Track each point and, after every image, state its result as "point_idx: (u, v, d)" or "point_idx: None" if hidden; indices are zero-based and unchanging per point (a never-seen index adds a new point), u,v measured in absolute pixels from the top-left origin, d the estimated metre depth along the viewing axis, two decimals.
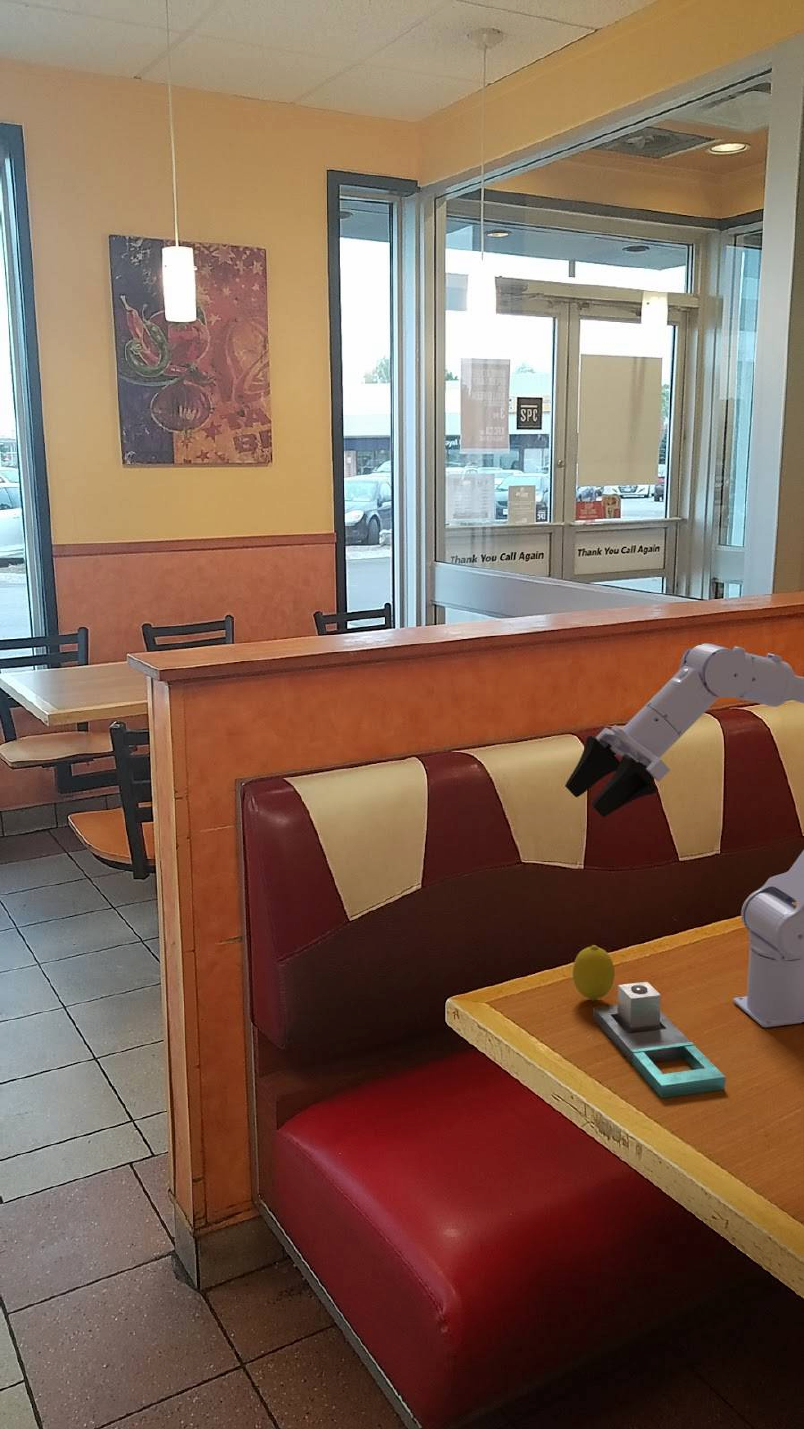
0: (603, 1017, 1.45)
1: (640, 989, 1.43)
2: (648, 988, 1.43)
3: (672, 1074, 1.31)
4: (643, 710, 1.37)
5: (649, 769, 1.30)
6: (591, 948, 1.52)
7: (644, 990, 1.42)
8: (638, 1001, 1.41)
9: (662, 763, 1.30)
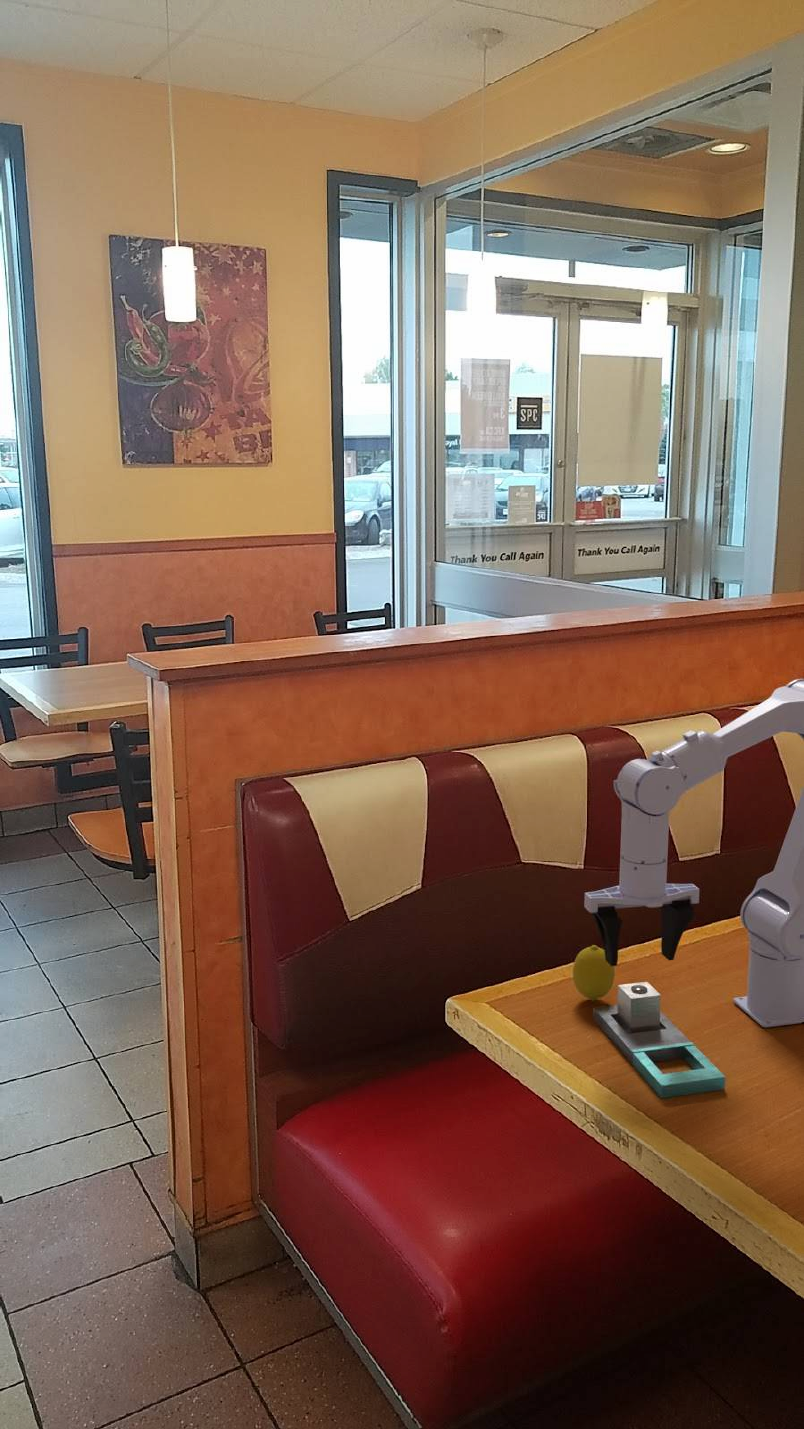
0: (603, 1017, 1.45)
1: (640, 989, 1.43)
2: (648, 988, 1.43)
3: (672, 1074, 1.31)
4: (651, 870, 1.37)
5: (697, 902, 1.41)
6: (591, 948, 1.52)
7: (644, 990, 1.42)
8: (638, 1001, 1.41)
9: None
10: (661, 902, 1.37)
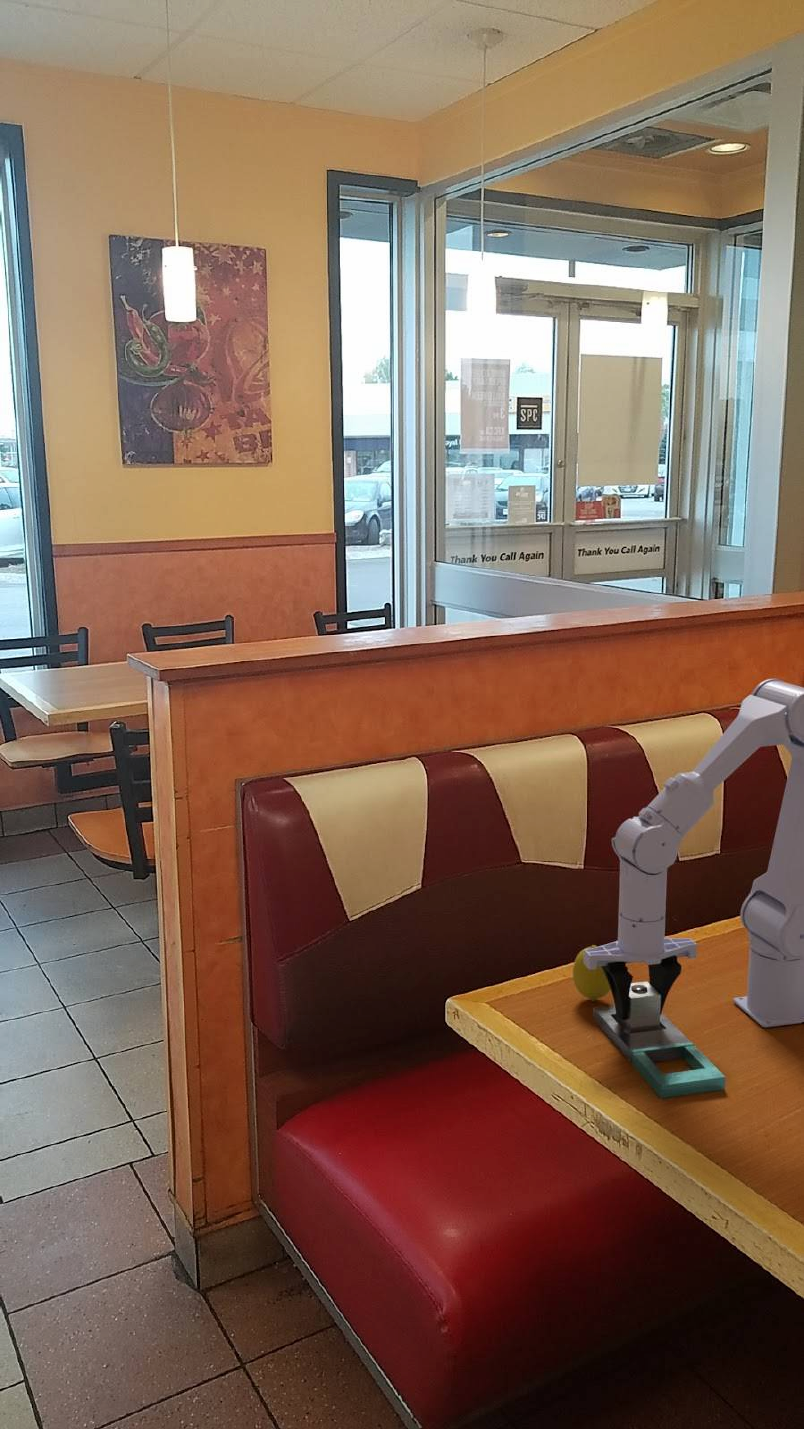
0: (603, 1017, 1.45)
1: (640, 989, 1.43)
2: (648, 988, 1.43)
3: (672, 1074, 1.31)
4: (649, 927, 1.38)
5: (695, 957, 1.43)
6: None
7: (644, 990, 1.42)
8: (638, 1001, 1.41)
9: None
10: (659, 959, 1.38)
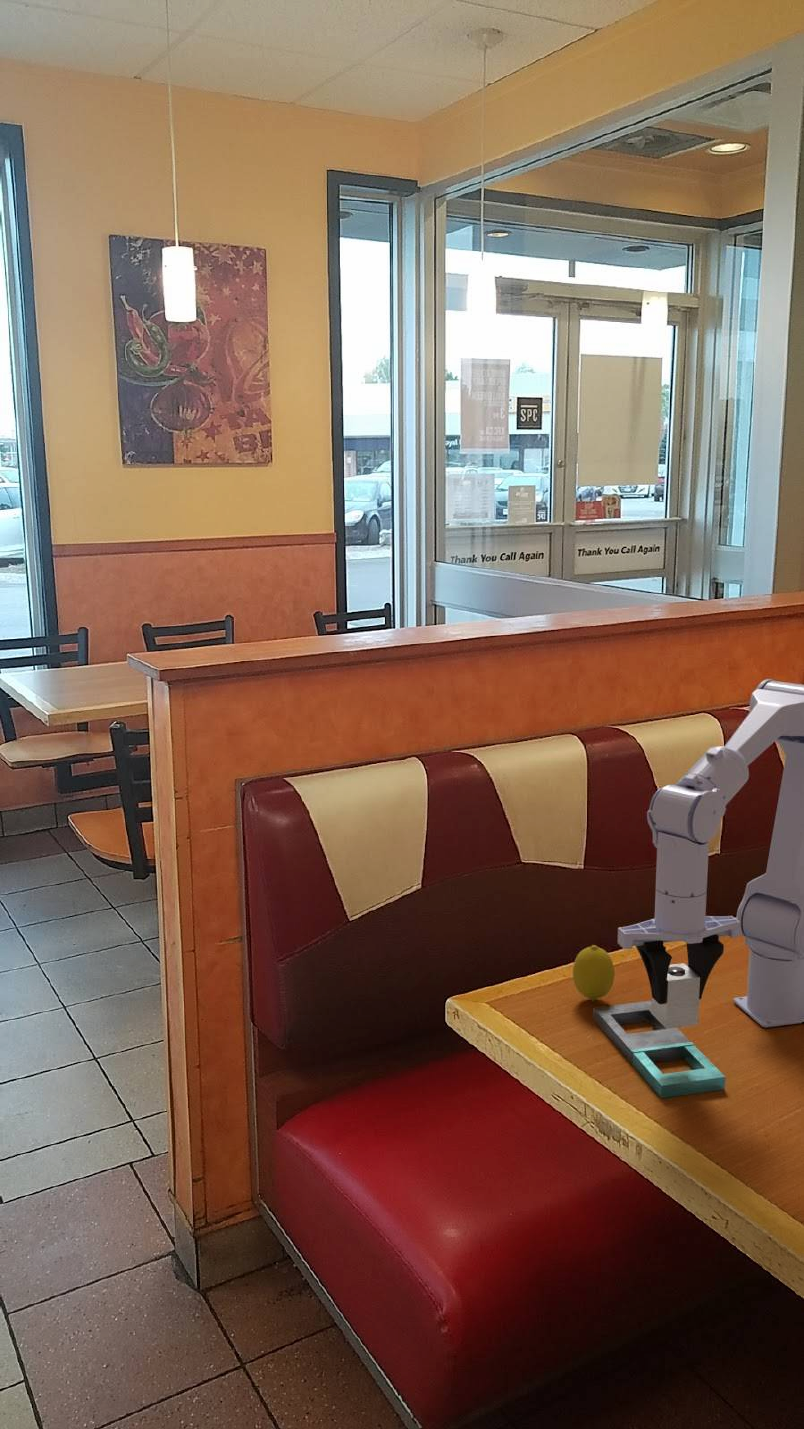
0: (603, 1017, 1.45)
1: (677, 971, 1.32)
2: (686, 970, 1.33)
3: (672, 1074, 1.31)
4: (690, 903, 1.27)
5: (738, 936, 1.32)
6: (591, 948, 1.52)
7: (682, 972, 1.32)
8: (676, 983, 1.30)
9: None
10: (701, 938, 1.27)
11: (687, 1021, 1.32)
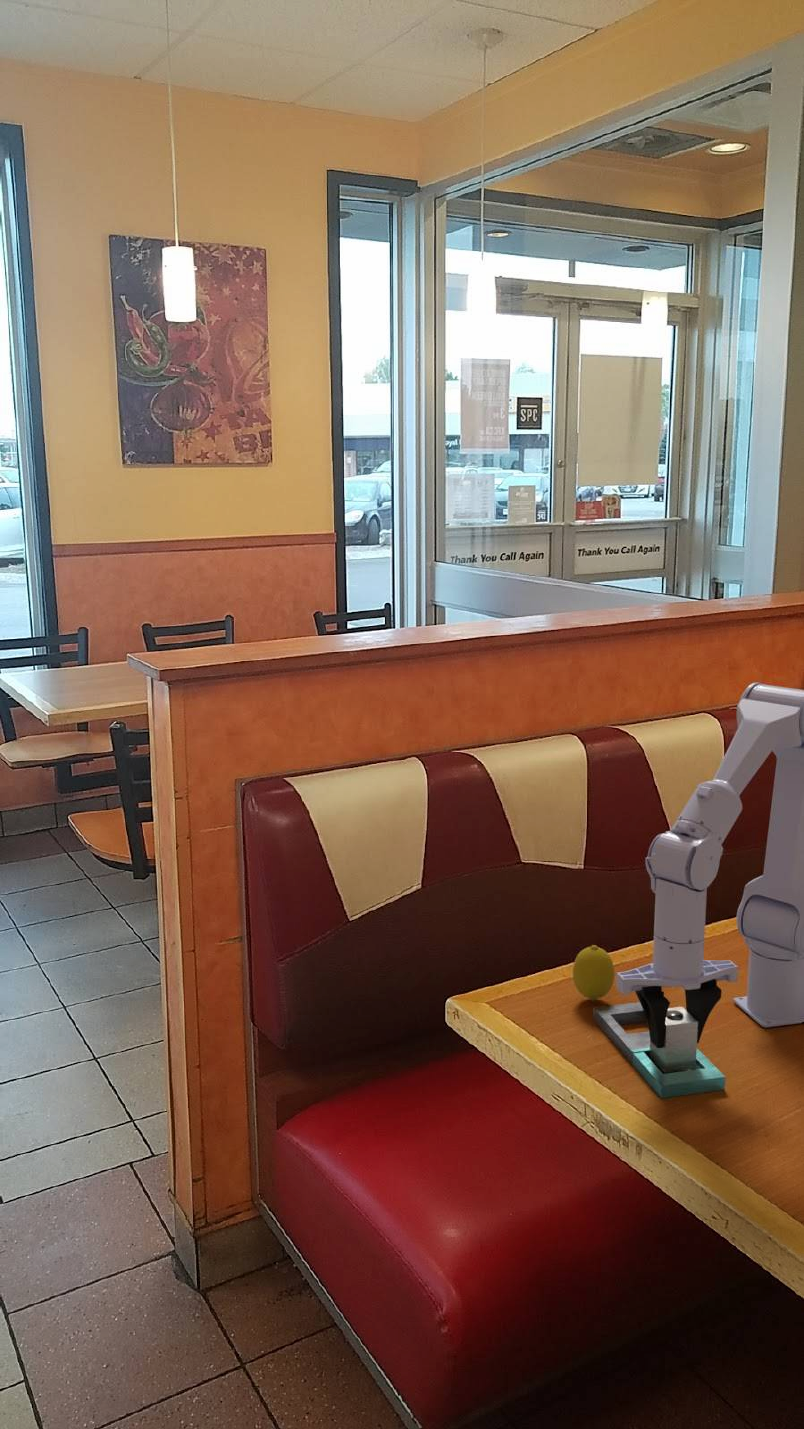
0: (603, 1017, 1.45)
1: (675, 1015, 1.33)
2: (684, 1014, 1.34)
3: (672, 1074, 1.31)
4: (688, 949, 1.29)
5: (735, 980, 1.33)
6: (591, 948, 1.52)
7: (680, 1016, 1.33)
8: (674, 1028, 1.32)
9: (735, 966, 1.33)
10: (699, 984, 1.28)
11: (685, 1064, 1.33)
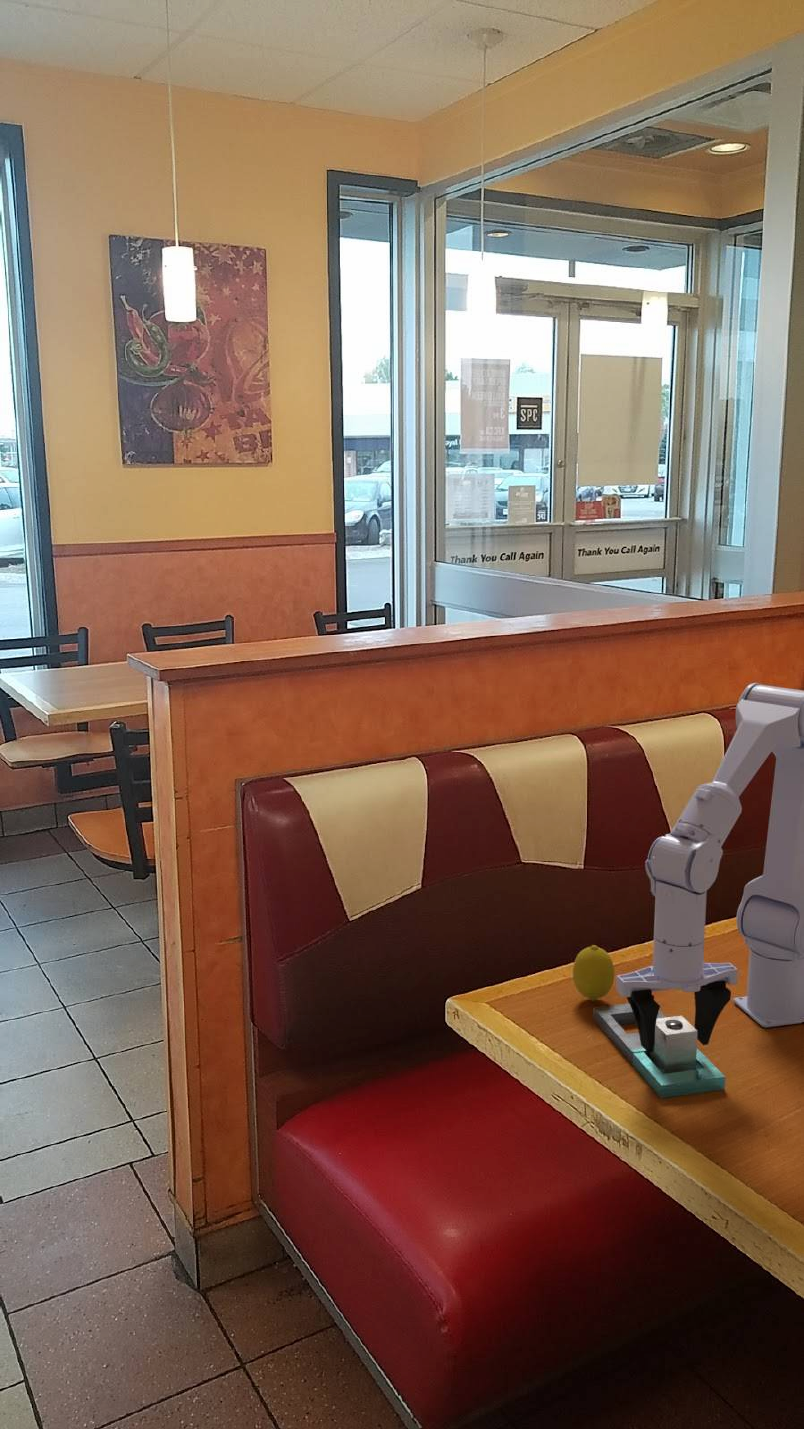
0: (603, 1017, 1.45)
1: (675, 1024, 1.33)
2: (683, 1023, 1.34)
3: (672, 1074, 1.31)
4: (688, 952, 1.29)
5: (735, 983, 1.33)
6: (591, 948, 1.52)
7: (679, 1025, 1.33)
8: (673, 1037, 1.32)
9: None
10: (699, 986, 1.29)
11: None
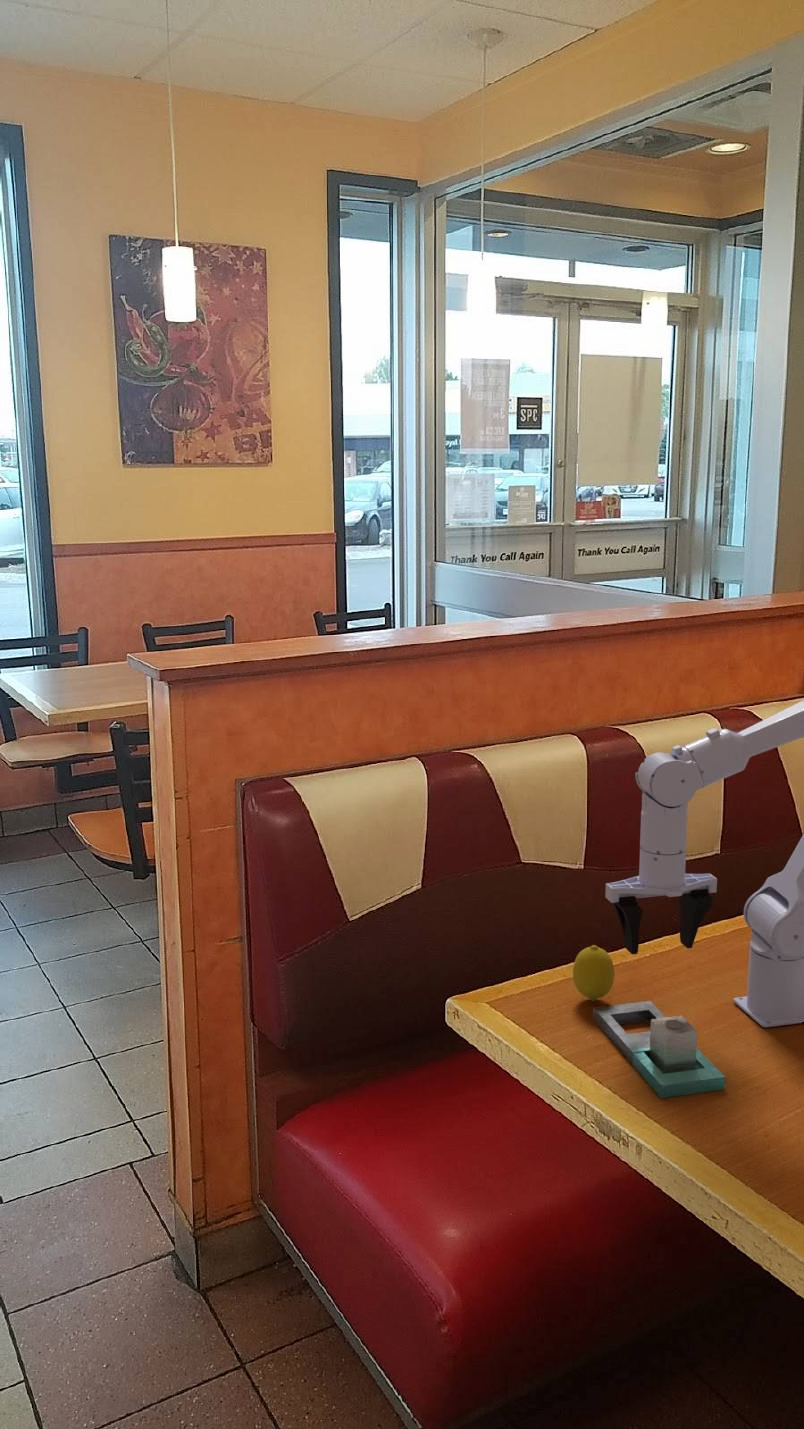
0: (603, 1017, 1.45)
1: (675, 1024, 1.33)
2: (683, 1023, 1.34)
3: (672, 1074, 1.31)
4: (671, 860, 1.41)
5: (715, 891, 1.45)
6: (591, 948, 1.52)
7: (679, 1025, 1.33)
8: (673, 1037, 1.32)
9: None
10: (681, 891, 1.41)
11: None
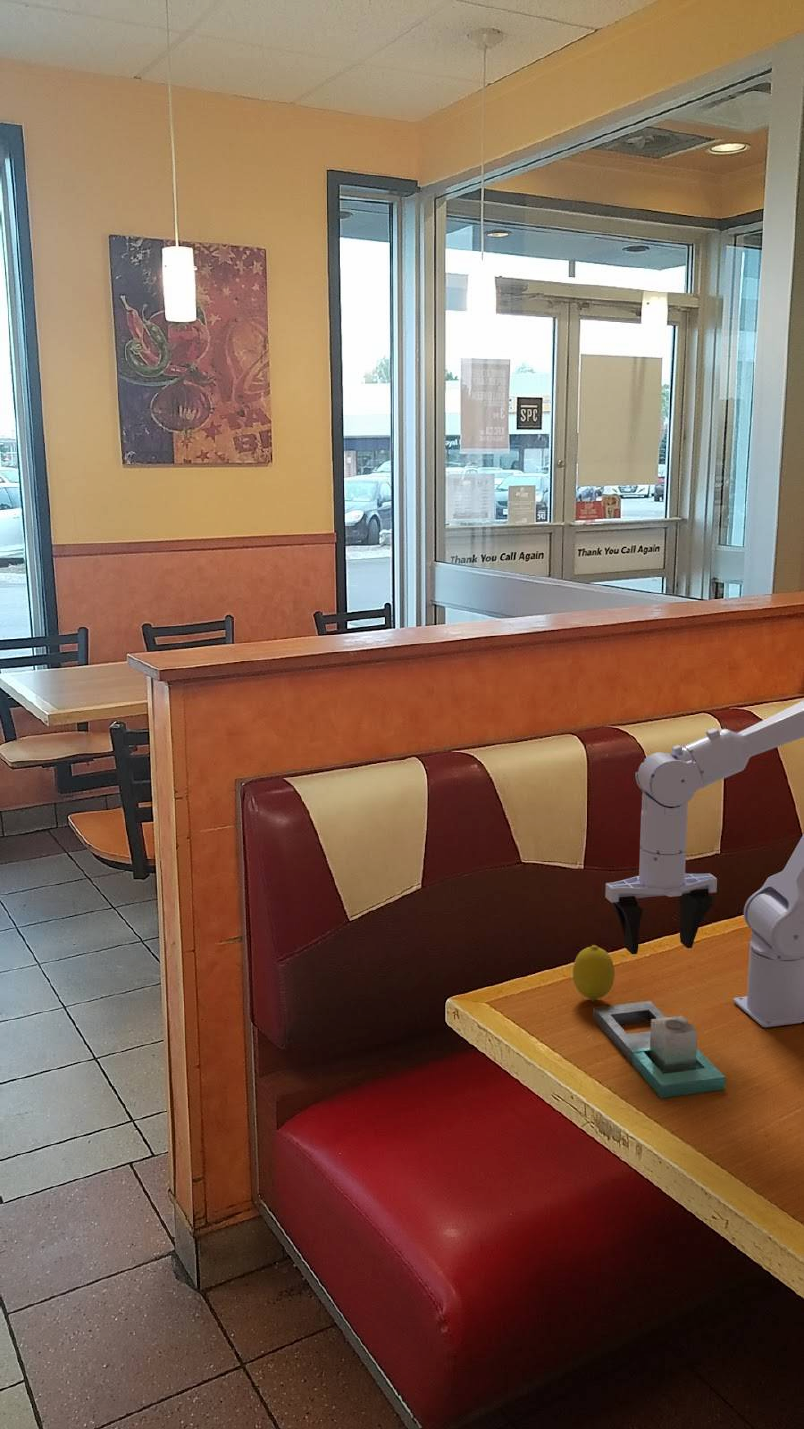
0: (603, 1017, 1.45)
1: (675, 1024, 1.33)
2: (683, 1023, 1.34)
3: (672, 1074, 1.31)
4: (671, 860, 1.41)
5: (715, 891, 1.45)
6: (591, 948, 1.52)
7: (679, 1025, 1.33)
8: (674, 1037, 1.32)
9: None
10: (681, 891, 1.41)
11: None
